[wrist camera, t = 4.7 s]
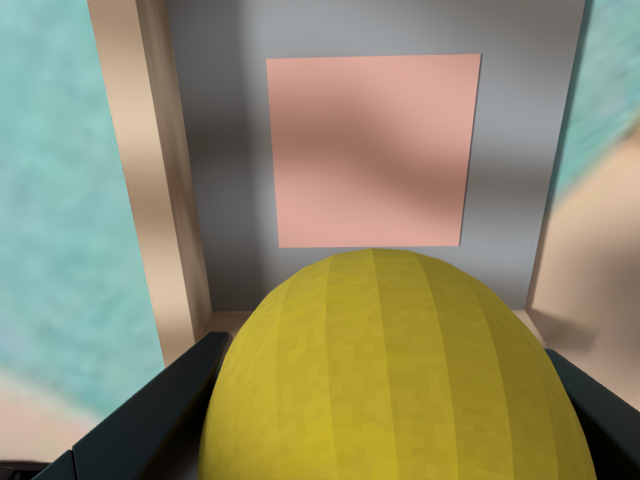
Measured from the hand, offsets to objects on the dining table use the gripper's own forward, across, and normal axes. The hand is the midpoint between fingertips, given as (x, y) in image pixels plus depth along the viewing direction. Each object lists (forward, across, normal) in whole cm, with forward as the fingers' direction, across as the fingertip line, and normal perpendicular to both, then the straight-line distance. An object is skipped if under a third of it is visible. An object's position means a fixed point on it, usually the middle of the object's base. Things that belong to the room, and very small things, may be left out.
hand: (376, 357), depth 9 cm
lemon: (+2, 0, 0) cm, 2 cm away
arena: (+12, 0, +1) cm, 12 cm away
